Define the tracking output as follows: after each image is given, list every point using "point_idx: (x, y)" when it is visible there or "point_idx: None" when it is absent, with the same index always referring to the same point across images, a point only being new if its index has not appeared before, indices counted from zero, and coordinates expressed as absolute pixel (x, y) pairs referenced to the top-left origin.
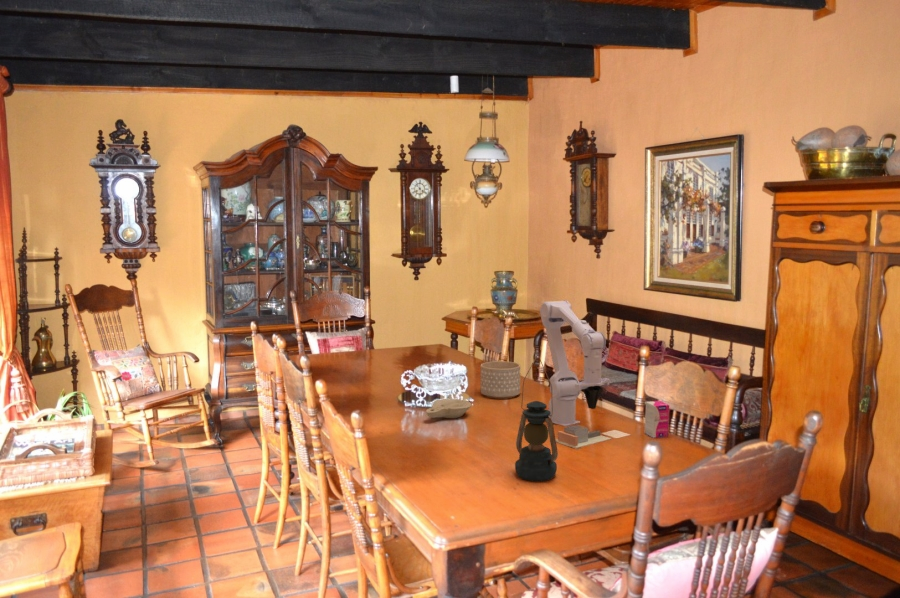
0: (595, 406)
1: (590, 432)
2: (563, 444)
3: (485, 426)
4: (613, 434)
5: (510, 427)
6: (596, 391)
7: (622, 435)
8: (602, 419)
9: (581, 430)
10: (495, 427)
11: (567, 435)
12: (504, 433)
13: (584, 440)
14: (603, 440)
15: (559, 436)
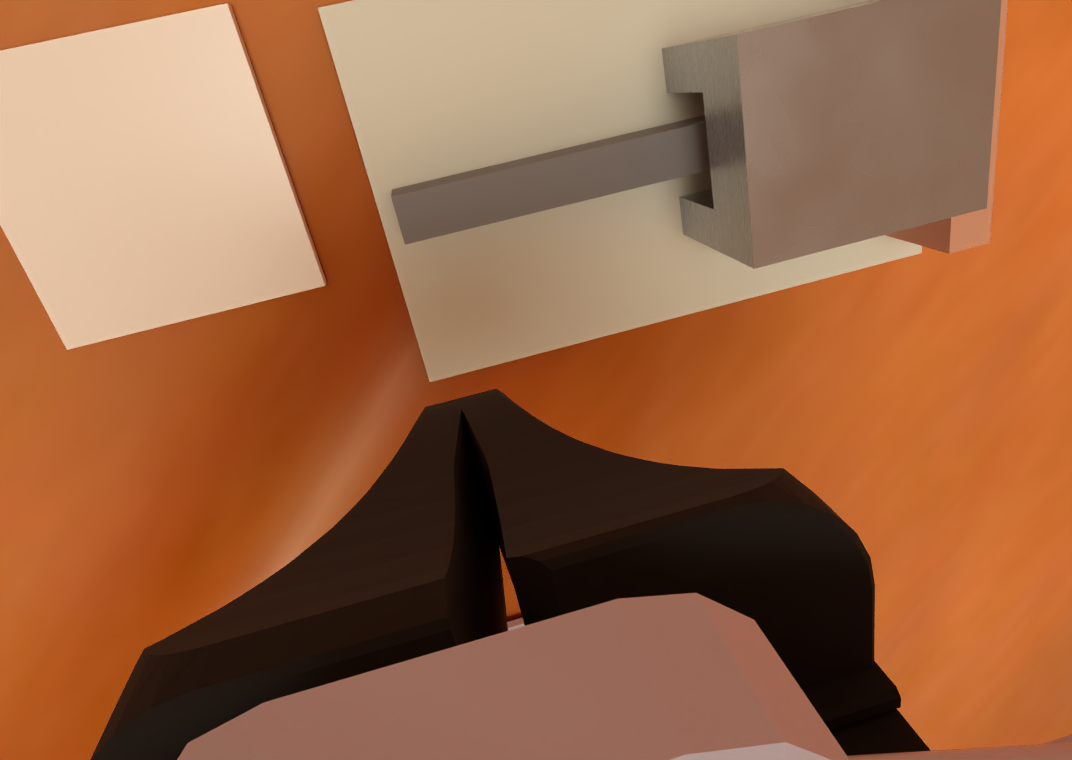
0: (435, 411)
1: (545, 196)
2: None
3: (1028, 743)
4: (183, 178)
5: (916, 694)
6: (580, 530)
7: (70, 85)
8: (24, 737)
9: (865, 5)
10: (995, 713)
11: None
12: (1052, 582)
13: (728, 33)
14: None
15: None
